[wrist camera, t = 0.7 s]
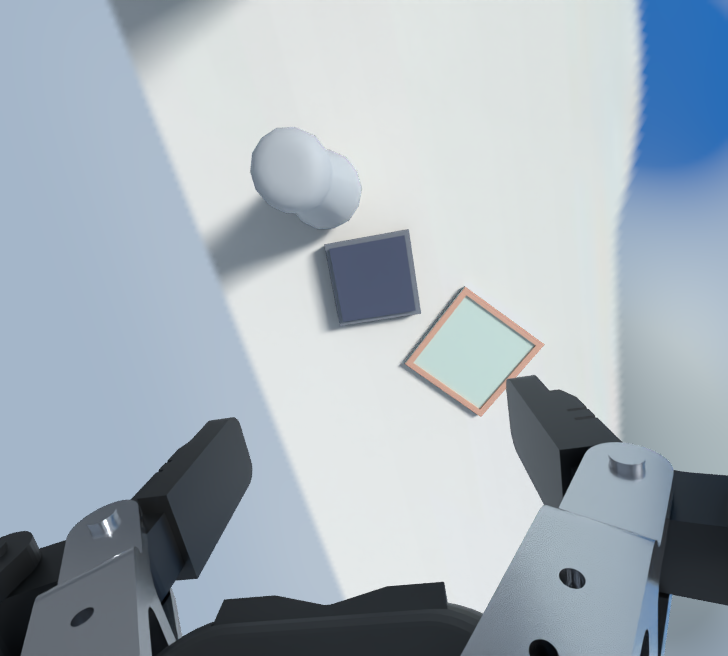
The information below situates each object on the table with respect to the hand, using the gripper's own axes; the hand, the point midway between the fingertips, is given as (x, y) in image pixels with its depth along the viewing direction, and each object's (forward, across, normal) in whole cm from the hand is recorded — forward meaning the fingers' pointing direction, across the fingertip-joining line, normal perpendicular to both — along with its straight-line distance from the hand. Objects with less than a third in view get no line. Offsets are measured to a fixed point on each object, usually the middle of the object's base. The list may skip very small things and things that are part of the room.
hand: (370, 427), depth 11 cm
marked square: (+23, -6, +7) cm, 25 cm away
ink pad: (+23, +1, -1) cm, 23 cm away
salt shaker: (+24, +3, -9) cm, 26 cm away
